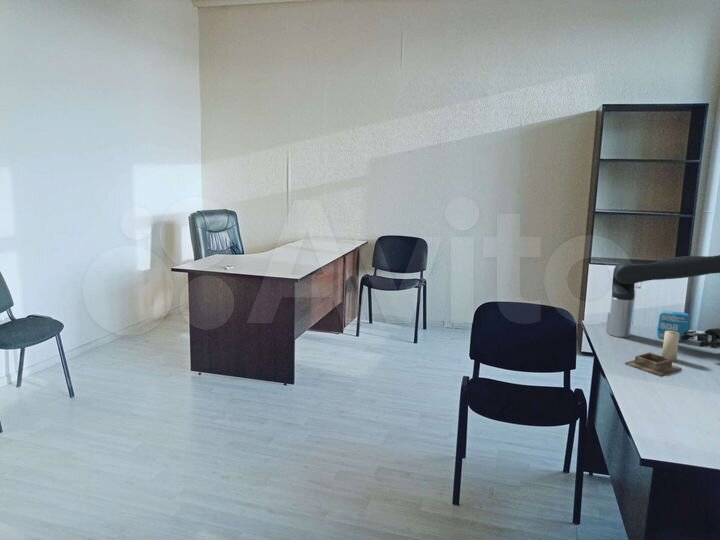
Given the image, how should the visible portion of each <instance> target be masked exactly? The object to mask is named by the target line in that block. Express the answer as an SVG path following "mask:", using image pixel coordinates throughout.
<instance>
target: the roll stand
mask: <svg viewBox="0 0 720 540" xmlns="http://www.w3.org/2000/svg"><path fill="white" fill-rule="evenodd" d="M624 364H625V365H626V364H627V365H626V366H629V365H630V366H629V367H632V368H635V369H637V368H638V370H640V371H643V372H647V373H648V374H651V373H652V375H654V374H655V376H657V375H658V377H661V376H665V375H668V374H671V373H675V372H678V371H681V370H682V367H680V366H676V365H673V361H672V359H669V358H666V357H663V356H662V355H660V354H656V353H654V352H653V353H652V352H646V353H642V354H638V355H636V356H635V358H634V360H631V361H626V362H624Z"/></svg>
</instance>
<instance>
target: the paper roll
mask: <svg viewBox="0 0 720 540" xmlns="http://www.w3.org/2000/svg"><path fill="white" fill-rule="evenodd" d="M679 335H680V333H678V332H674V331H665V334H664V339H663V342H662V343H663V345H662V352H661V356H663V357H666V358H669V359H672V362H677V357H678V350H679V344H680V343H679V342H680V341H679Z"/></svg>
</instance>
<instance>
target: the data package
mask: <svg viewBox="0 0 720 540" xmlns="http://www.w3.org/2000/svg"><path fill="white" fill-rule="evenodd" d="M690 325H691V316H690V315H689V313H687V312H681V311H670V310H660V311H659V312H658V316H657V325H656V336H657V338H658V339H661V340H662V339H663V340H664V334H665V331H674V332H678V333H680V335H679V342H686V341H687V340H680V338H681V335H684V332H688V331H690Z"/></svg>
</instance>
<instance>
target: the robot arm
mask: <svg viewBox="0 0 720 540" xmlns="http://www.w3.org/2000/svg"><path fill="white" fill-rule="evenodd" d="M710 274H712V275H713V274H720V254H718V255H711V256H707V255H705V256H704V255H702V256H701V255H683V256H676V257H669V258H664V259H661V260H658V261H656V262H651V263H642V264H633V263H631V262H629V261H620V262H618V263H617V264H616V265H615V266H614V269H613V274H612V285H611V299H610V301H611V302H610V310H609V312H608V313H607V320H606V327H605V328H606V329H605V332H606V333H607V334H608V335H610V336H613V337H617V338H629V337H630V336H631V329H632V321H633V314H634V313H633V312H634V306H635V305H634V303H635V297H636V294H635V284H638V283H644V282H648V281H657V280H660V281H661V280H662V281H663V280H675V279H676V280H677V279H684V278H685V279H686V278H692V277H701V276H705V275H710ZM680 340H686V341H692V342H696V343H698V344H699V345H698V346H699V347H700V348H704V347H708V348H712V349H718V348H720V327H715V328H709V329H706V330H705V331H704V332H697V331H696V330H689V331H688V332H684V335H681V338H680Z"/></svg>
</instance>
